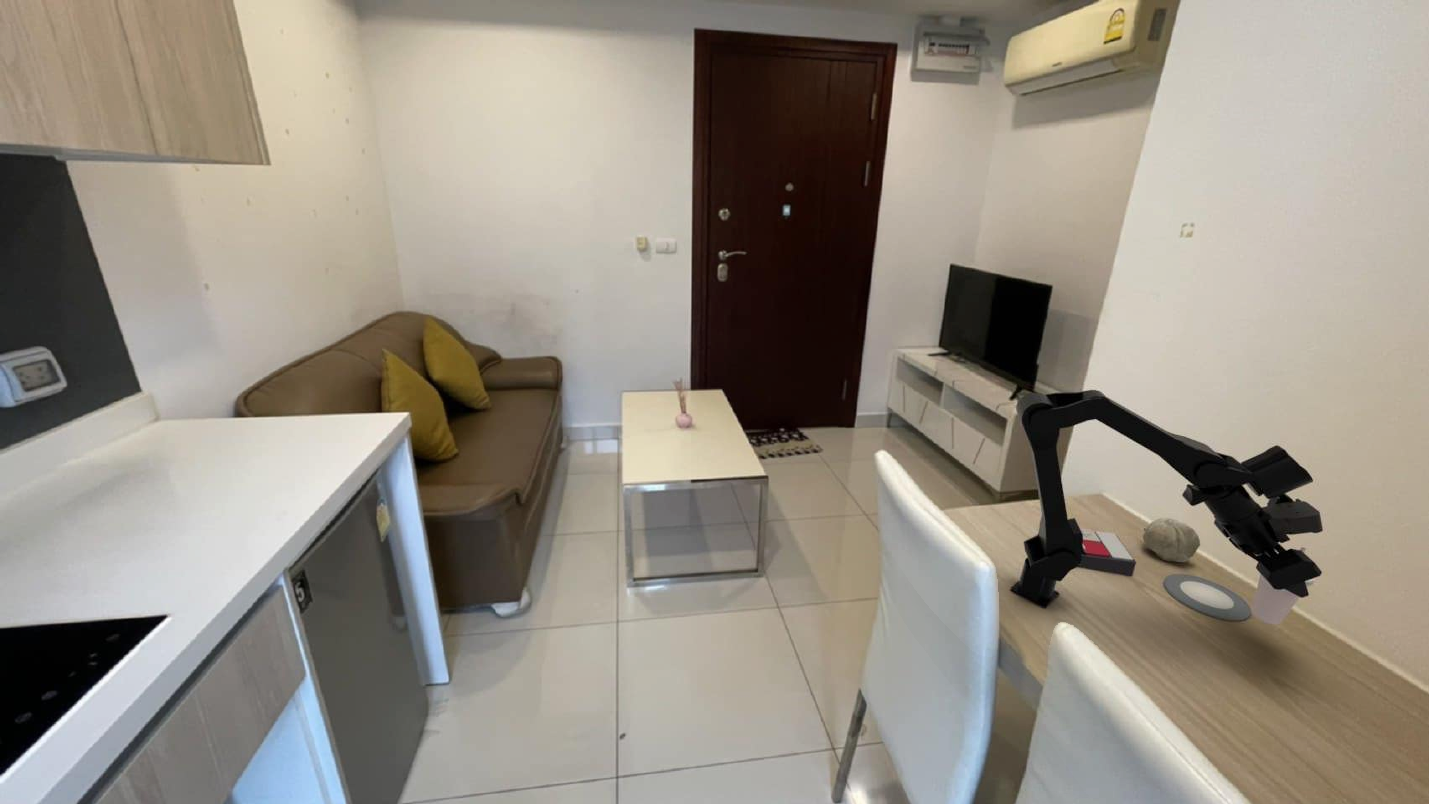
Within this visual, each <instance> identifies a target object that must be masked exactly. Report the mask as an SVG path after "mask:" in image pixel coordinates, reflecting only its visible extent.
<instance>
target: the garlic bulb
mask: <svg viewBox="0 0 1429 804" xmlns="http://www.w3.org/2000/svg"><path fill="white" fill-rule="evenodd" d="M1143 531H1144V533H1143V535H1142V541H1143V542H1144V546H1145V547H1146V549H1148V550H1150V551H1152V552H1154V553H1155V554H1156V556H1157V557H1158V558H1159V559H1162V560H1163V561H1165V560H1166V561H1165V562H1171V561H1172V562H1178V563H1185V562H1188V559H1190V558H1193V557H1194V556H1195V554H1196V552H1197V550H1198V549H1199V547H1200V546H1201V540H1200V537H1199V535H1198V533H1197V531H1195V529H1194V528H1193V527H1192V526H1190V525H1189V524H1186V523H1184V522H1181V521H1179V520H1177V519H1174V518H1165V517H1162V518H1161V517H1160V518H1157V519H1155V520H1154V521H1151V522H1150V524H1148V526H1144V527H1143Z"/></svg>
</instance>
